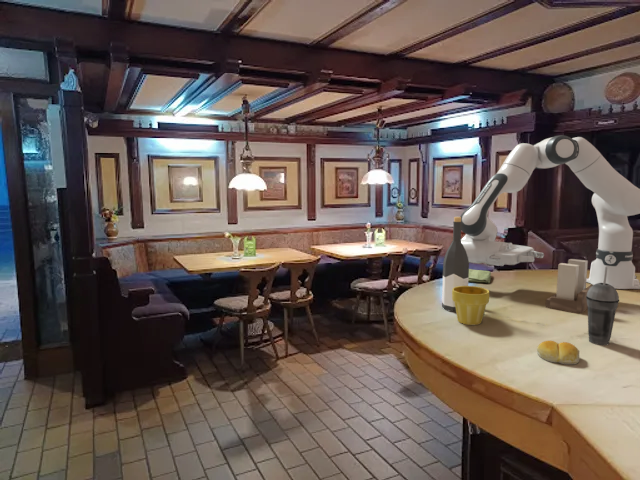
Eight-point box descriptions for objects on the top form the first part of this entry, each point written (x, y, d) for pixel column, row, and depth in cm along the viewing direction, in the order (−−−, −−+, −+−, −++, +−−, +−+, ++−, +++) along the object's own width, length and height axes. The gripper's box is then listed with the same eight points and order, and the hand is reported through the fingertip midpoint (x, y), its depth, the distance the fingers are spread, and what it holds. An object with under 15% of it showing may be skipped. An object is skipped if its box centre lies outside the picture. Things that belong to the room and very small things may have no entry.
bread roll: (538, 349, 112) (539, 333, 112) (579, 356, 108) (580, 340, 107) (534, 360, 105) (535, 344, 105) (578, 368, 101) (579, 351, 100)
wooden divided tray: (560, 301, 154) (562, 280, 153) (594, 307, 148) (595, 285, 147) (545, 311, 143) (546, 288, 142) (580, 318, 136) (582, 294, 135)
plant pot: (469, 329, 126) (471, 295, 125) (443, 319, 136) (444, 288, 134) (495, 324, 131) (497, 291, 130) (469, 314, 140) (470, 284, 139)
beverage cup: (611, 338, 119) (617, 264, 116) (619, 348, 112) (626, 269, 109) (579, 335, 121) (585, 262, 118) (586, 345, 114) (592, 267, 111)
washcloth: (456, 282, 186) (456, 274, 186) (461, 274, 202) (462, 267, 202) (489, 285, 181) (490, 277, 180) (492, 276, 197) (493, 269, 196)
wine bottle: (468, 306, 149) (472, 216, 145) (465, 313, 142) (469, 218, 138) (443, 303, 153) (446, 215, 149) (439, 310, 145) (442, 217, 141)
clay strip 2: (567, 299, 152) (570, 258, 150) (584, 302, 148) (587, 260, 146) (565, 301, 149) (568, 260, 148) (582, 304, 146) (585, 261, 144)
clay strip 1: (558, 305, 144) (561, 263, 142) (575, 308, 141) (579, 265, 139) (555, 307, 142) (558, 264, 140) (573, 310, 139) (576, 266, 137)
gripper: (487, 248, 157) (528, 252, 148) (509, 241, 172) (548, 244, 162) (486, 266, 158) (527, 271, 149) (509, 258, 173) (547, 262, 163)
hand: (538, 257), depth 156 cm, fingers open, 8 cm apart
